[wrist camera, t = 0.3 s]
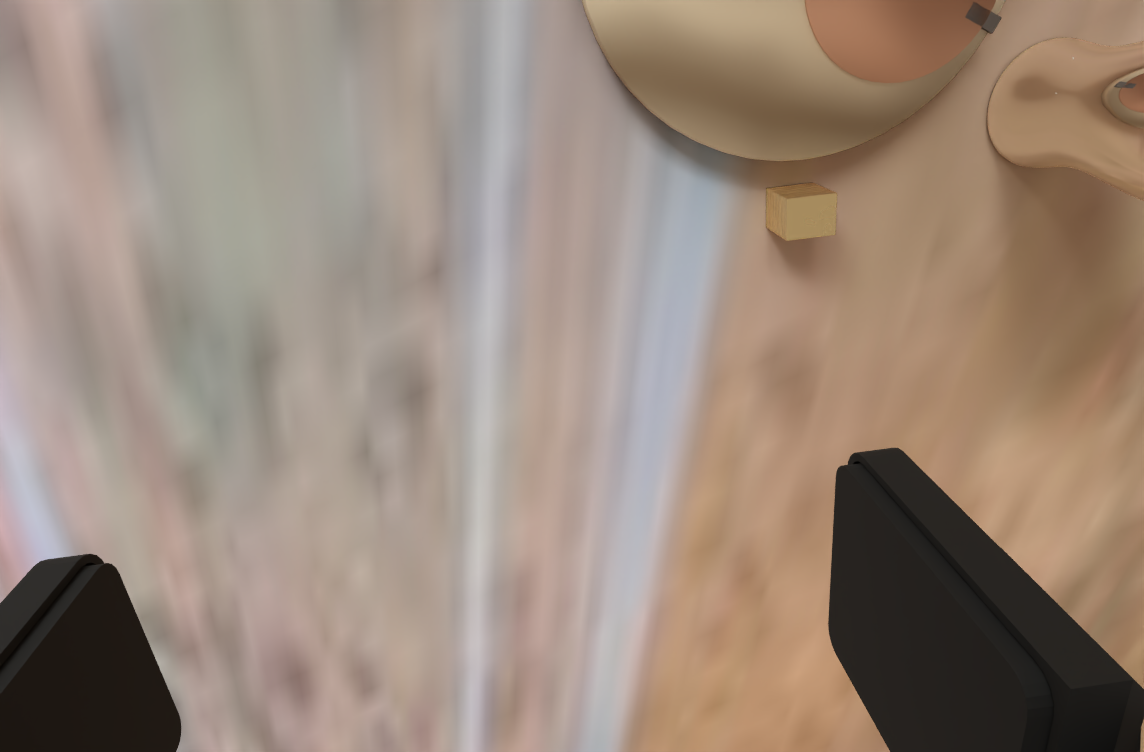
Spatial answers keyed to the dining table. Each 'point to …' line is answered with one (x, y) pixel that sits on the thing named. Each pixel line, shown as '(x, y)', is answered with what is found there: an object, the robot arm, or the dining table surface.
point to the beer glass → (1074, 110)
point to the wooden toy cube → (801, 211)
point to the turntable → (787, 66)
